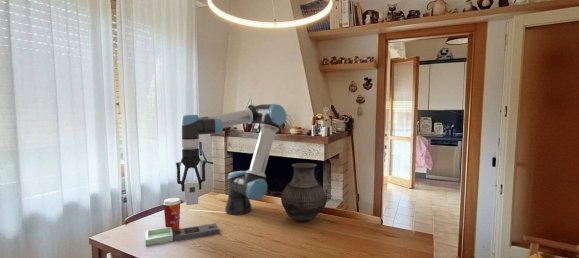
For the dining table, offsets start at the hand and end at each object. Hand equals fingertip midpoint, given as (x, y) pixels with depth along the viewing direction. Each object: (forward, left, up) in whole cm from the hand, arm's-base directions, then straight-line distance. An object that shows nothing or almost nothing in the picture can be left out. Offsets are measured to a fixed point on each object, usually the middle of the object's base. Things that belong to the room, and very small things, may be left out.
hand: (191, 197), depth 136 cm
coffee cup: (+8, -10, -18) cm, 22 cm away
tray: (+14, -2, -18) cm, 23 cm away
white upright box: (0, 0, -3) cm, 3 cm away
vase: (-57, +5, -18) cm, 60 cm away
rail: (-2, 0, -18) cm, 18 cm away
